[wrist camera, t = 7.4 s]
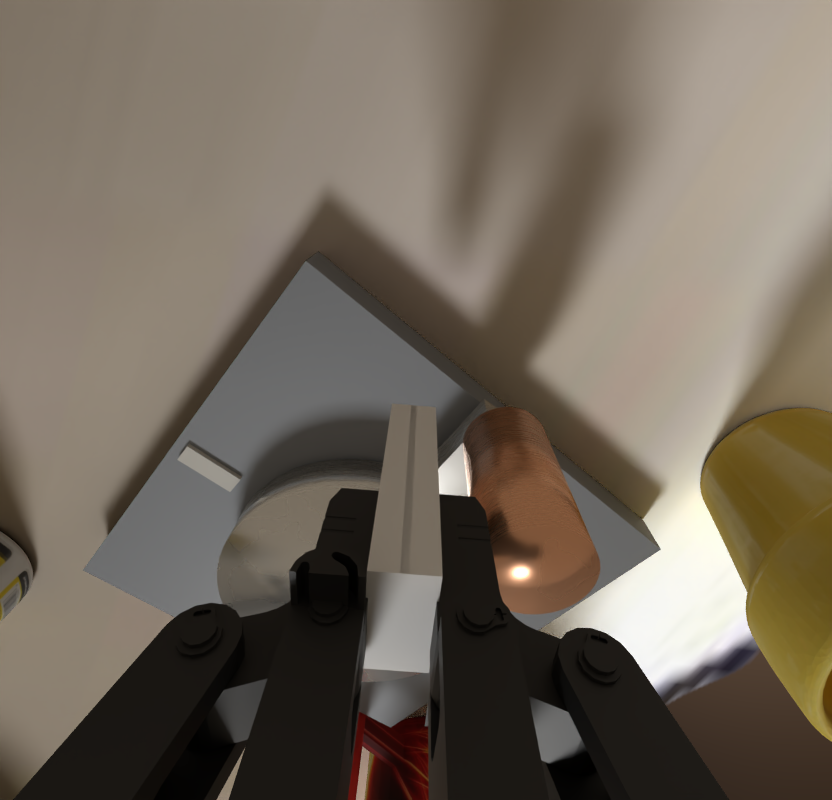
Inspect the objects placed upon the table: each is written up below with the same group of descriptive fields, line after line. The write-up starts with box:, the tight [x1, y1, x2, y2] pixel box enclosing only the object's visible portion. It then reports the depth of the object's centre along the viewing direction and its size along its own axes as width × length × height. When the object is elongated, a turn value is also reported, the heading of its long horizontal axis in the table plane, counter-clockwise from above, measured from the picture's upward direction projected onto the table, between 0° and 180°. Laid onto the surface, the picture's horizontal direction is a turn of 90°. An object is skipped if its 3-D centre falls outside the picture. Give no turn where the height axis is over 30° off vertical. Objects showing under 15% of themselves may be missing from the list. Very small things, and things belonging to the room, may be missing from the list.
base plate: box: [83, 251, 661, 727], centre depth 23 cm, size 20×20×2 cm
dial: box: [217, 399, 600, 682], centre depth 18 cm, size 18×12×8 cm
